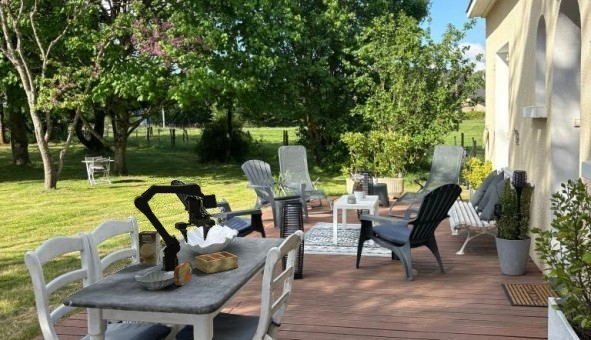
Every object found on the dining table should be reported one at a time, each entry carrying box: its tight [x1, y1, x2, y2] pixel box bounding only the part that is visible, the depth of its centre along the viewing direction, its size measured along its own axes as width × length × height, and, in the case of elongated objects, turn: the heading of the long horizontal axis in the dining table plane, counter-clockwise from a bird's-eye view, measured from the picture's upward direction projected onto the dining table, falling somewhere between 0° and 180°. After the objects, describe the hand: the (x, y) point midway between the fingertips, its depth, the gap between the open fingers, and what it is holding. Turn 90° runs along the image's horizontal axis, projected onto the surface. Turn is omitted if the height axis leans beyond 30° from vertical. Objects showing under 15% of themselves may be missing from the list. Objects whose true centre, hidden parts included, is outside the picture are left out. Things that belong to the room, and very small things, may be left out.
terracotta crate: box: [207, 254, 226, 261], centre depth 261 cm, size 6×8×5 cm
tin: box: [173, 261, 194, 286], centre depth 239 cm, size 15×3×8 cm, turn 168°
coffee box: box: [138, 230, 162, 266], centre depth 272 cm, size 9×6×16 cm
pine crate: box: [194, 251, 239, 274], centre depth 261 cm, size 16×13×6 cm
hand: (195, 241), depth 265 cm, fingers open, 9 cm apart
